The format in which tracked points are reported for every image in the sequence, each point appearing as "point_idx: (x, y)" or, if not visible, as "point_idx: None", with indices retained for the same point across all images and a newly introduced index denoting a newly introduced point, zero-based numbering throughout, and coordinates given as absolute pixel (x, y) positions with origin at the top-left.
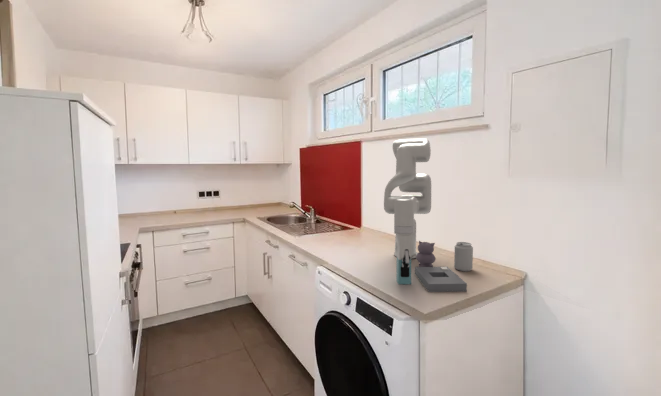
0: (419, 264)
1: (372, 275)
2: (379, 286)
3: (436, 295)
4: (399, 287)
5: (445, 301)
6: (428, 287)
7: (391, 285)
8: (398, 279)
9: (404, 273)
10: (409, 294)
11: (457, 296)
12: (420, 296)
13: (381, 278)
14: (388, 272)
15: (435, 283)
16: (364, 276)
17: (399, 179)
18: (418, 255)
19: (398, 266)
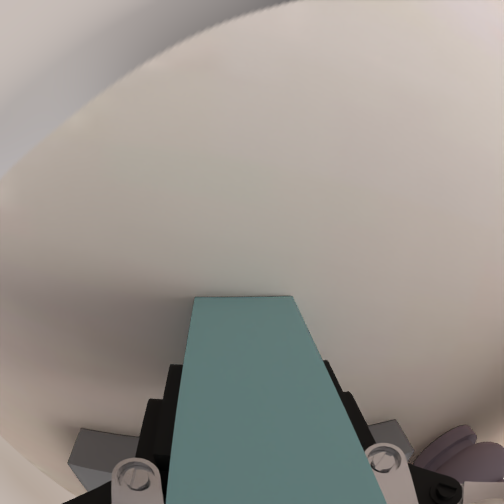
0: (467, 438)
1: (439, 104)
2: (141, 101)
3: (50, 435)
4: (118, 289)
5: (7, 431)
6: (77, 447)
7: (163, 225)
8: (191, 321)
9: (149, 417)
10: (13, 322)
11: (72, 482)
12: (10, 369)
13: (367, 162)
14: (473, 260)
15: (88, 486)
16: (416, 30)
17: None
18: (485, 474)
19: (173, 437)
